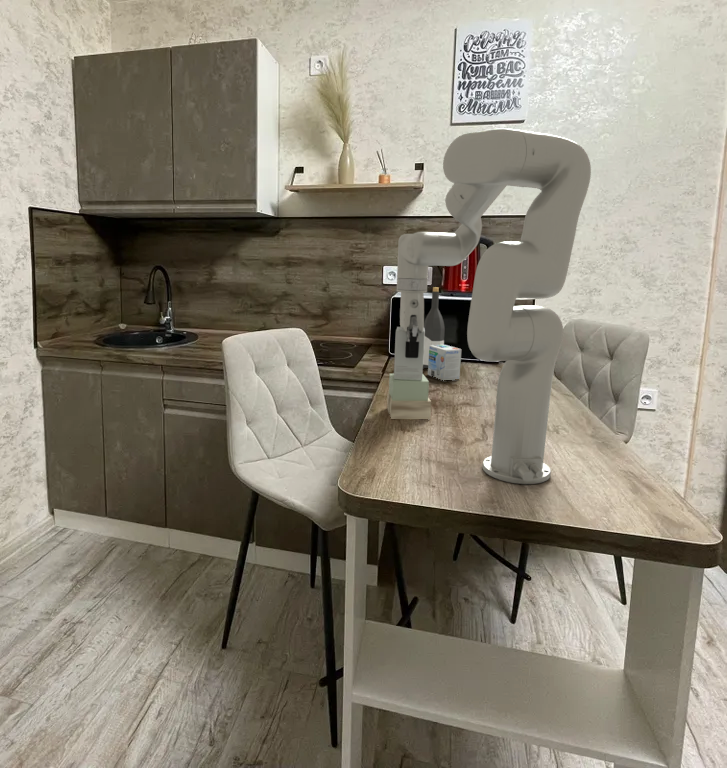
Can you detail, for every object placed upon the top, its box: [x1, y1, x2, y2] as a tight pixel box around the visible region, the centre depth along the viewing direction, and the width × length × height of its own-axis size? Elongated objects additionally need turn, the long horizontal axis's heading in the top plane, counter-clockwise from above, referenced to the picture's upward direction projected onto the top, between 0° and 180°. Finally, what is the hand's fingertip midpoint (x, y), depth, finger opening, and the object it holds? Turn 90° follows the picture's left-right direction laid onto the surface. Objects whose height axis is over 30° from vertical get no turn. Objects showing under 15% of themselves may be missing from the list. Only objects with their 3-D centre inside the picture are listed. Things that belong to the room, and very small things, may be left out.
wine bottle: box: [423, 286, 446, 369], centre depth 193 cm, size 8×8×30 cm
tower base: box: [386, 390, 432, 421], centre depth 136 cm, size 10×10×5 cm
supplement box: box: [393, 326, 425, 381], centre depth 133 cm, size 7×7×13 cm
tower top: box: [388, 373, 430, 401], centre depth 134 cm, size 9×9×5 cm
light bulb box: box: [427, 344, 462, 382], centre depth 179 cm, size 11×7×11 cm, turn 25°
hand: (408, 354), depth 132 cm, fingers open, 9 cm apart
